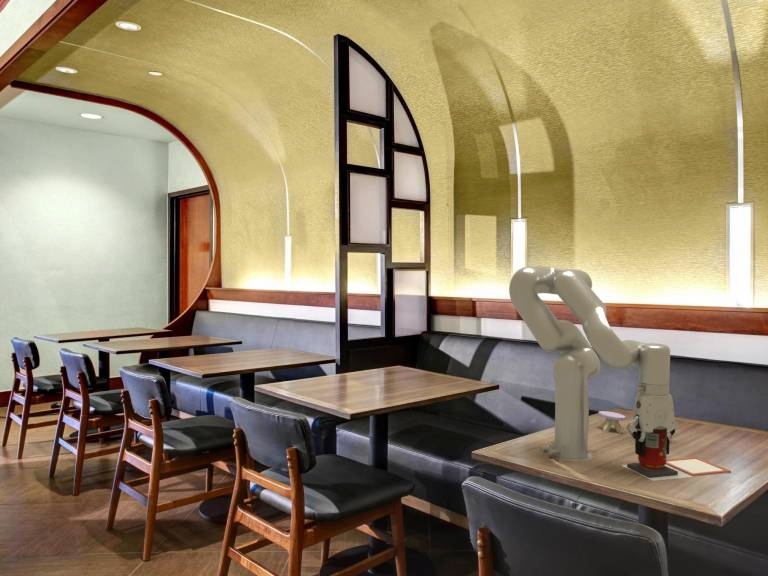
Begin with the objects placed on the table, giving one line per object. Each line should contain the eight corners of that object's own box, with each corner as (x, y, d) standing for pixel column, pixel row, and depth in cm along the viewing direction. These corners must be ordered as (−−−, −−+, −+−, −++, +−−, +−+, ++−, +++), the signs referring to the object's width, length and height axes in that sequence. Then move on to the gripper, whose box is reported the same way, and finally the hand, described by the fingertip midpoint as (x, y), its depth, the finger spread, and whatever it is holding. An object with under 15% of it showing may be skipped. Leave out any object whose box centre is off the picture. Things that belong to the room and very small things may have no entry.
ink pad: (649, 478, 163) (649, 474, 163) (627, 467, 172) (627, 463, 172) (677, 475, 166) (677, 471, 166) (654, 464, 174) (654, 461, 174)
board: (652, 485, 161) (652, 480, 161) (620, 469, 174) (621, 465, 174) (727, 477, 168) (727, 473, 168) (691, 462, 180) (691, 458, 180)
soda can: (668, 472, 164) (669, 427, 164) (640, 470, 166) (641, 425, 166) (663, 464, 171) (664, 420, 171) (636, 462, 173) (637, 418, 173)
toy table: (591, 428, 218) (592, 411, 218) (611, 425, 222) (611, 409, 221) (611, 435, 209) (612, 418, 209) (632, 432, 213) (632, 416, 212)
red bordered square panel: (692, 476, 165) (692, 474, 165) (659, 461, 177) (659, 460, 177) (730, 472, 168) (730, 470, 168) (695, 458, 180) (695, 456, 180)
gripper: (635, 393, 162) (634, 460, 163) (690, 390, 167) (688, 455, 167) (617, 388, 169) (616, 452, 170) (670, 385, 174) (668, 447, 175)
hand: (652, 453), depth 169 cm, fingers closed on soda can, 7 cm apart
